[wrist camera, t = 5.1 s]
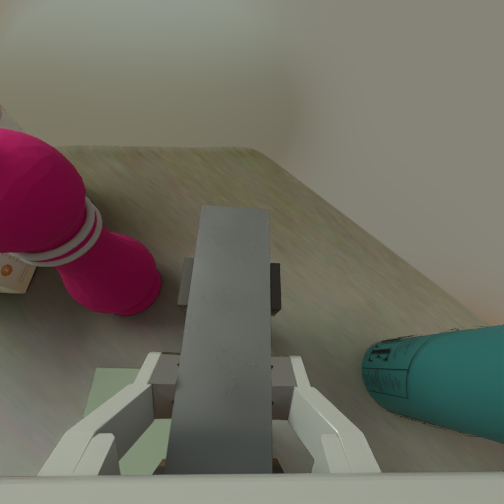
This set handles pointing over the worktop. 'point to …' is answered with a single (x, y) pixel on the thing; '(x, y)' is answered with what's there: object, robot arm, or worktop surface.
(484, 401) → the beverage bottle
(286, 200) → the worktop surface
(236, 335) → the rail
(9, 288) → the coffeecake box
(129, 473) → the mat
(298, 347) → the worktop surface
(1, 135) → the pepper mill
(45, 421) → the worktop surface
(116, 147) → the worktop surface
